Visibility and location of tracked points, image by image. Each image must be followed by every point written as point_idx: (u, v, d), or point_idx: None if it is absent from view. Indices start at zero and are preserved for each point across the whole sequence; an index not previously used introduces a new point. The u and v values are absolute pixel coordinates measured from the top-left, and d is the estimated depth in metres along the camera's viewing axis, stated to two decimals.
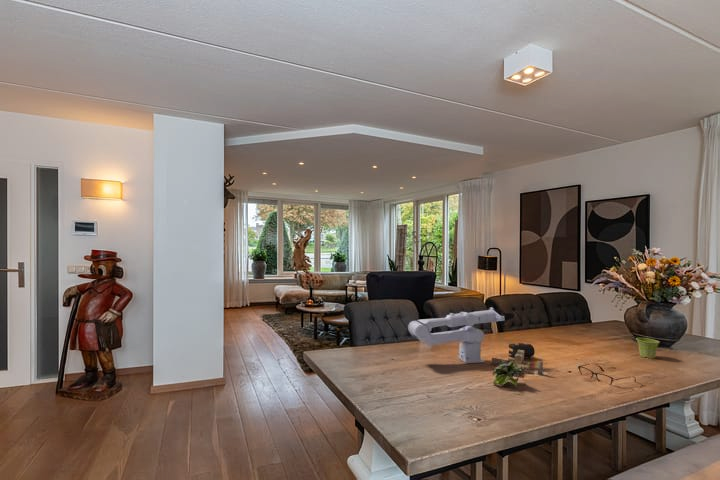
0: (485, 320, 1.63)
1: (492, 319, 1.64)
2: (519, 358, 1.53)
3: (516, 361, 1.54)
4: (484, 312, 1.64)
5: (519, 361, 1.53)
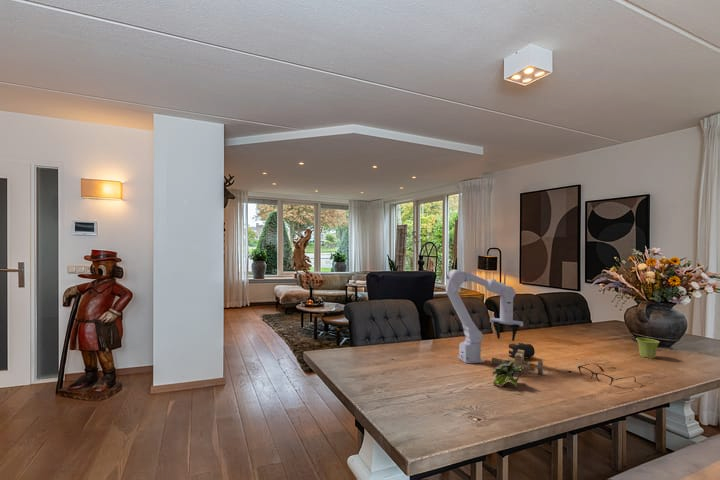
0: (506, 310, 1.62)
1: (511, 318, 1.62)
2: (519, 358, 1.53)
3: (516, 361, 1.54)
4: (512, 310, 1.63)
5: (519, 361, 1.53)
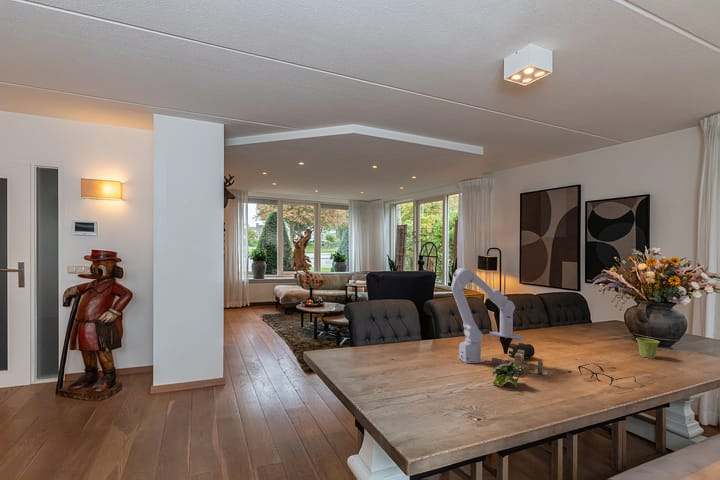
0: (505, 324, 1.62)
1: (511, 332, 1.62)
2: (519, 358, 1.53)
3: (516, 361, 1.54)
4: (512, 325, 1.63)
5: (519, 361, 1.53)
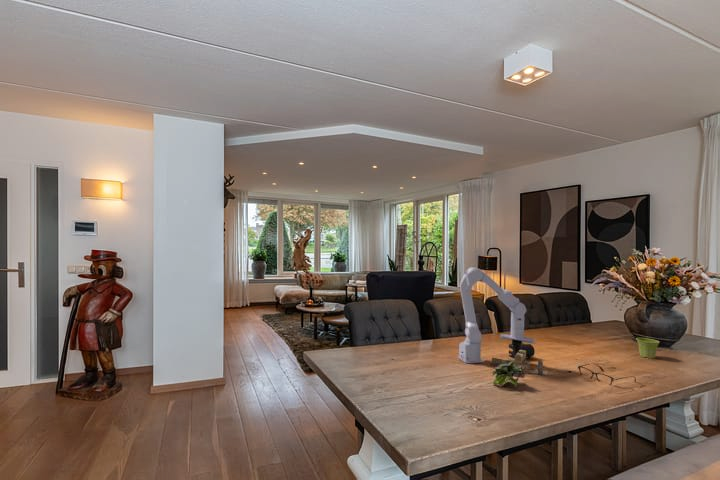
0: (516, 326, 1.59)
1: (523, 335, 1.59)
2: (519, 358, 1.53)
3: (516, 361, 1.54)
4: (523, 327, 1.60)
5: (519, 361, 1.53)
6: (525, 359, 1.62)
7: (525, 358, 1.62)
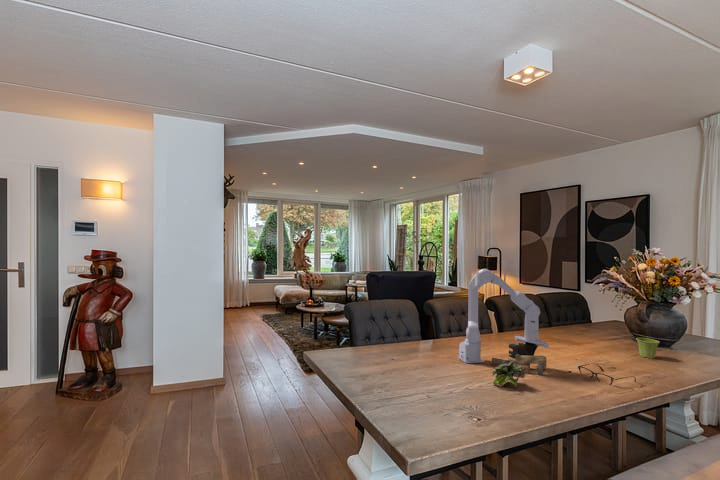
0: (529, 329, 1.55)
1: (535, 338, 1.55)
2: (517, 358, 1.53)
3: (516, 361, 1.54)
4: (537, 330, 1.55)
5: (517, 361, 1.53)
6: (543, 366, 1.53)
7: (543, 365, 1.53)
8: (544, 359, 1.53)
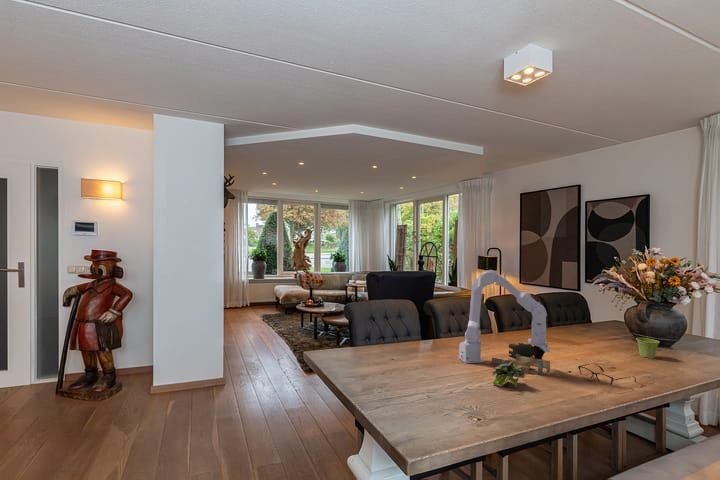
0: (535, 331, 1.50)
1: (539, 341, 1.50)
2: None
3: None
4: (544, 333, 1.50)
5: None
6: (546, 371, 1.47)
7: (546, 370, 1.47)
8: (547, 364, 1.47)
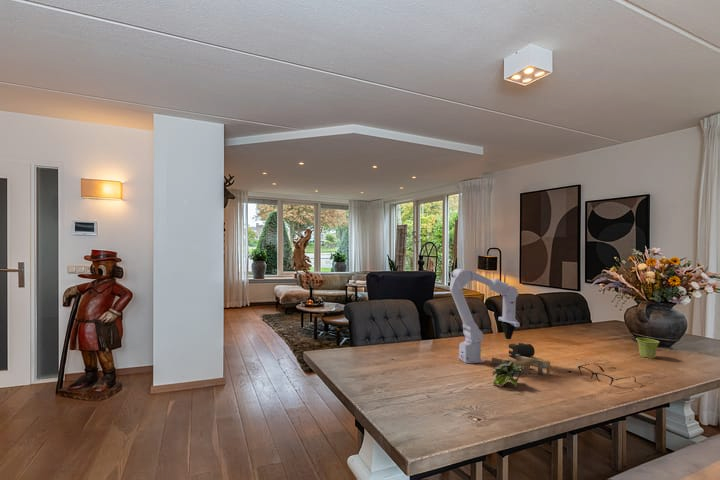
0: (509, 309, 1.64)
1: (509, 317, 1.63)
2: None
3: None
4: None
5: None
6: (546, 371, 1.47)
7: (546, 370, 1.47)
8: (547, 364, 1.47)
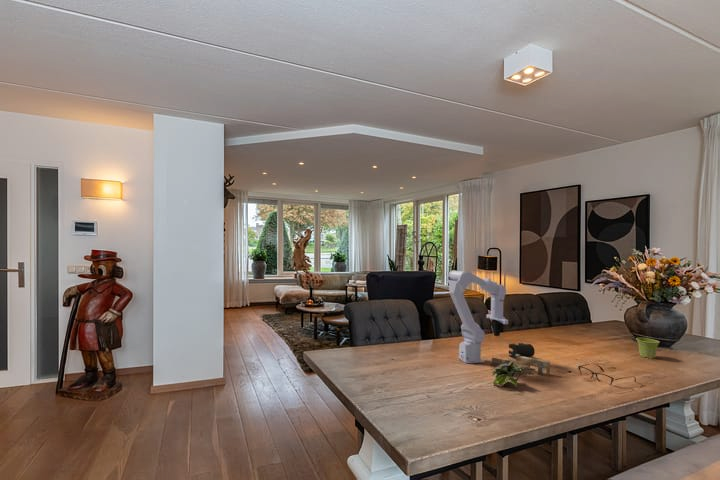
0: (499, 307, 1.68)
1: (498, 315, 1.68)
2: None
3: None
4: None
5: None
6: (546, 371, 1.47)
7: (546, 370, 1.47)
8: (547, 364, 1.47)
